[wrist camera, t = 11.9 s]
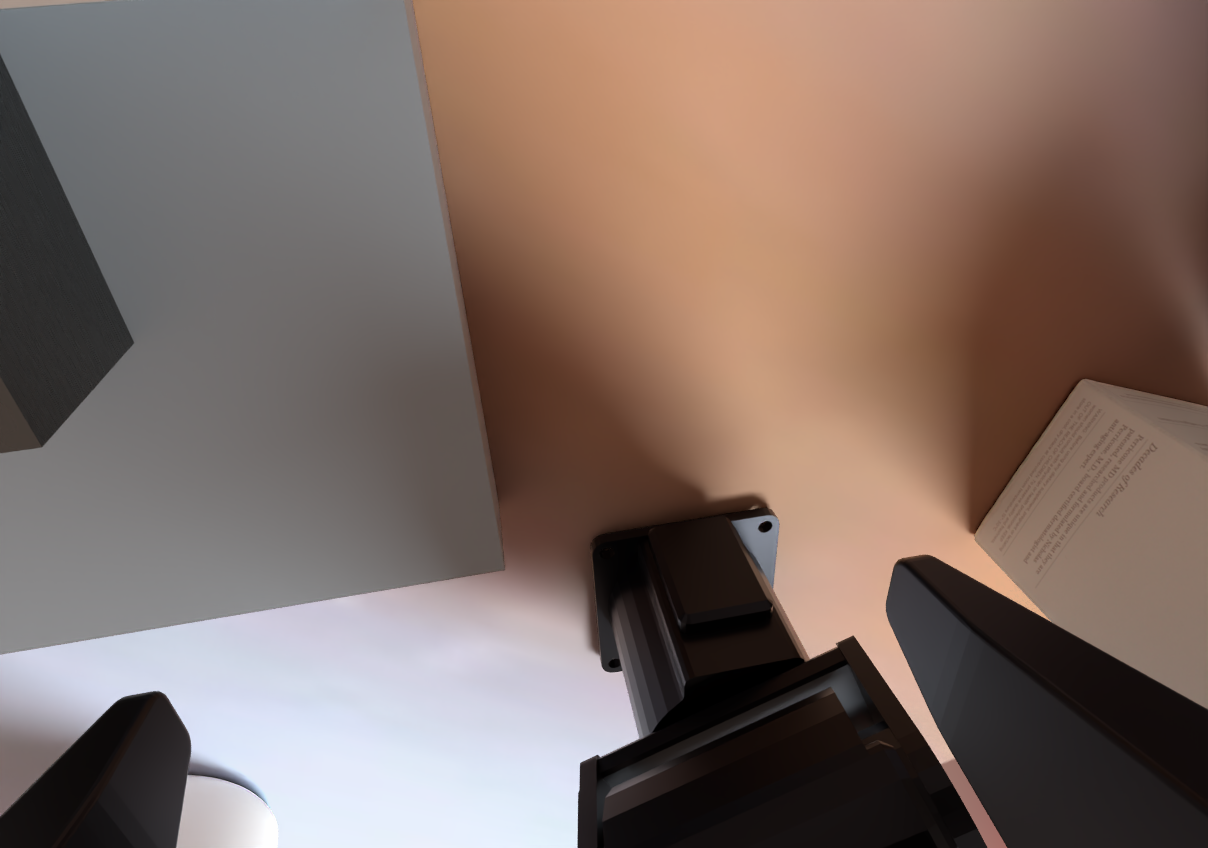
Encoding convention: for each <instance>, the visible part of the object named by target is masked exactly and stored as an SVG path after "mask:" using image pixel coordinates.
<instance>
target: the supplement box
mask: <svg viewBox="0 0 1208 848" xmlns="http://www.w3.org/2000/svg"><path fill="white" fill-rule="evenodd" d="M975 541H976V542H977V543H978V545H979V546H980V547H981V548H982V549H983V550H984V551H985V552H986V553H987V554H988V555H989V556H990V557H991V558H992V559H993V560H994V562H995V563H996V564H997V565H998V566H999V567H1000V568H1001V569H1002V570H1003V571H1004V572H1005V573H1006V574H1007V576H1008V577H1009V578H1010V579H1011V580H1012V581H1013V582H1014V583H1015V584H1016V585H1017V586H1018V587H1019V588H1020V589H1021V590H1022V591H1023V592H1024V593H1025V594H1026V596H1027V597H1028V598H1029V599H1030V600H1031V601H1032V602H1033V603H1034V604H1035V605H1036V606H1037V607H1038V608H1039V609H1040V610H1041V611H1042V612H1043V613H1044V614H1045V615H1046V616H1047V618H1048V619H1049V620H1050V621H1051V622H1052V623H1054V624H1056V625H1057V626H1059V627H1061V628H1063V629H1065V630H1066V631H1068V632H1070V633H1072V634H1074V635H1075V636H1077V637H1079V638H1081V639H1083V640H1084V641H1086V642H1088V643H1090V644H1092V645H1093V646H1095V647H1097V648H1099V649H1101V650H1102V651H1104V652H1106V653H1108V654H1110V655H1111V656H1113V657H1115V658H1117V659H1119V660H1120V661H1122V662H1124V663H1126V664H1128V665H1129V666H1131V667H1133V668H1135V669H1137V670H1138V671H1140V672H1142V673H1144V674H1146V675H1147V676H1149V677H1151V678H1153V679H1154V680H1156V681H1158V682H1160V683H1162V684H1163V685H1165V686H1167V687H1169V688H1171V689H1172V690H1174V691H1176V692H1178V693H1180V694H1181V695H1183V696H1185V697H1187V698H1189V699H1190V700H1192V701H1194V702H1196V703H1198V704H1199V705H1201V706H1203V707H1205V708H1207V709H1208V407H1207V406H1203V405H1199V404H1195V403H1190V402H1186V401H1182V400H1177V399H1173V398H1168V397H1164V396H1159V395H1155V394H1150V393H1146V392H1142V391H1137V390H1133V389H1128V388H1124V387H1119V386H1115V385H1110V384H1105V383H1101V382H1096V381H1092V380H1089V379H1083V380H1081V381H1080V382H1079V383H1078V384H1077V386H1076V387H1075V389H1074V390H1073V391H1072V392H1071V394H1070V395H1069V397H1068V398H1067V400H1066V401H1065V403H1064V404H1063V405H1062V407H1061V408H1060V410H1059V411H1058V412H1057V414H1056V415H1055V417H1054V418H1053V420H1052V421H1051V423H1050V424H1049V426H1048V427H1047V429H1046V430H1045V431H1044V433H1043V434H1042V436H1041V437H1040V438H1039V440H1038V441H1037V443H1036V444H1035V445H1034V447H1033V448H1032V450H1031V451H1030V453H1029V455H1028V456H1027V458H1026V459H1025V460H1024V462H1023V463H1022V464H1021V466H1020V467H1019V468H1018V470H1017V471H1016V473H1015V474H1014V476H1013V477H1012V479H1011V480H1010V482H1009V483H1008V485H1007V486H1006V488H1005V489H1004V491H1003V492H1002V494H1001V495H1000V496H999V498H998V500H997V501H996V503H995V504H994V506H993V507H992V508H991V510H990V511H989V512H988V514H987V515H986V517H985V518H984V520H983V521H982V523H981V525H980V527H979V528H978V530H977V531H976V533H975Z"/></svg>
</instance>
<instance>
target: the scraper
mask: <svg viewBox="0 0 1208 848" xmlns="http://www.w3.org/2000/svg"><path fill="white" fill-rule="evenodd" d="M120 1H133V0H0V10H13V9H27V8H40V7H53V6H67V5H80V4H93V3H106V2H120ZM133 344H134V341H133V339H132V337H131V335H130V332H129V330H128V328H127V326H126V324H125V322H124V319H123V317H122V315H121V313H120V311H119V309H118V306H117V304H116V302H115V300H114V298H113V296H112V294H111V291H110V289H109V287H108V285H107V283H106V281H105V278H104V276H103V274H102V272H101V270H100V268H99V266H98V263H97V261H96V259H95V257H94V255H93V253H92V250H91V248H90V246H89V244H88V242H87V240H86V237H85V235H84V233H83V231H82V229H81V227H80V225H79V222H78V220H77V218H76V216H75V214H74V212H73V209H72V207H71V205H70V203H69V201H68V199H67V197H66V194H65V192H64V190H63V188H62V186H61V184H60V181H59V179H58V177H57V175H56V173H55V171H54V168H53V166H52V164H51V162H50V160H49V158H48V156H47V153H46V151H45V149H44V147H43V145H42V143H41V140H40V138H39V136H38V134H37V132H36V130H35V128H34V125H33V123H32V121H31V119H30V117H29V115H28V112H27V110H26V108H25V106H24V104H23V102H22V100H21V97H20V95H19V93H18V91H17V89H16V87H15V84H14V82H13V80H12V78H11V76H10V74H9V71H8V69H7V67H6V65H5V63H4V61H3V59H2V56H1V54H0V453H7V452H14V451H21V450H28V449H35V448H42V447H43V446H44V445H45V444H46V442H47V441H48V440H49V439H50V438H51V437H52V436H53V435H54V433H55V432H56V431H57V430H58V429H59V428H60V427H61V425H62V424H63V423H64V422H65V421H66V420H67V419H68V418H69V416H70V415H71V414H72V413H73V412H74V411H75V410H76V409H77V407H78V406H79V405H80V404H81V403H82V402H83V401H84V399H85V398H86V397H87V396H88V395H89V394H90V393H91V392H92V390H93V389H94V388H95V387H96V386H97V385H98V384H99V382H100V381H101V380H102V379H103V378H104V377H105V376H106V375H107V373H108V372H109V371H110V370H111V369H112V368H113V367H114V366H115V364H116V363H117V362H118V361H119V360H120V359H121V358H122V356H123V355H124V354H125V353H126V352H127V351H128V350H129V349H130V347H131V346H132V345H133Z"/></svg>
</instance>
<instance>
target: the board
mask: <svg viewBox="0 0 1208 848" xmlns="http://www.w3.org/2000/svg"><path fill="white" fill-rule="evenodd" d="M0 54H1V56H2V59H3V61H4V63H5V65H6V67H7V69H8V71H9V74H10V76H11V78H12V80H13V82H14V84H15V87H16V89H17V91H18V93H19V95H20V97H21V100H22V102H23V104H24V106H25V108H26V110H27V112H28V115H29V117H30V119H31V121H32V123H33V125H34V128H35V130H36V132H37V134H38V136H39V138H40V140H41V143H42V145H43V147H44V149H45V151H46V153H47V156H48V158H49V160H50V162H51V164H52V166H53V168H54V171H55V173H56V175H57V177H58V179H59V181H60V184H61V186H62V188H63V190H64V192H65V194H66V197H67V199H68V201H69V203H70V205H71V207H72V209H73V212H74V214H75V216H76V218H77V220H78V222H79V225H80V227H81V229H82V231H83V233H84V235H85V237H86V240H87V242H88V244H89V246H90V248H91V250H92V253H93V255H94V257H95V259H96V261H97V263H98V266H99V268H100V270H101V272H102V274H103V276H104V278H105V281H106V283H107V285H108V287H109V289H110V291H111V294H112V296H113V298H114V300H115V302H116V304H117V306H118V309H119V311H120V313H121V315H122V317H123V319H124V322H125V324H126V326H127V328H128V330H129V332H130V335H131V337H132V339H133V341H134V344H133V345H132V346H131V347H130V349H129V350H128V351H127V352H126V353H125V354H124V355H123V356H122V358H121V359H120V360H119V361H118V362H117V363H116V364H115V366H114V367H113V368H112V369H111V370H110V371H109V372H108V373H107V375H106V376H105V377H104V378H103V379H102V380H101V381H100V382H99V384H98V385H97V386H96V387H95V388H94V389H93V390H92V392H91V393H90V394H89V395H88V396H87V397H86V398H85V399H84V401H83V402H82V403H81V404H80V405H79V406H78V407H77V409H76V410H75V411H74V412H73V413H72V414H71V415H70V416H69V418H68V419H67V420H66V421H65V422H64V423H63V424H62V425H61V427H60V428H59V429H58V430H57V431H56V432H55V433H54V435H53V436H52V437H51V438H50V439H49V440H48V441H47V442H46V444H45V445H44V446H43V447H42V448H35V449H28V450H21V451H14V452H7V453H0V655H1V654H7V653H13V652H19V651H25V650H31V649H37V648H43V647H49V646H55V645H61V644H67V643H73V642H78V641H84V640H90V639H96V638H102V637H108V636H114V635H120V634H126V633H132V632H138V631H144V630H150V629H156V628H162V627H168V626H174V625H180V624H186V623H192V622H198V621H204V620H210V619H216V618H222V617H228V616H234V615H240V614H246V613H251V612H257V611H263V610H269V609H275V608H281V607H287V606H293V605H299V604H305V603H311V602H317V601H323V600H329V599H335V598H341V597H347V596H353V595H359V594H365V593H371V592H377V591H383V590H389V589H395V588H401V587H407V586H413V585H419V584H425V583H430V582H436V581H442V580H448V579H454V578H460V577H466V576H472V575H478V574H484V573H490V572H496V571H502V570H505V565H504V554H503V543H502V532H501V521H500V510H499V502H498V496H497V490H496V484H495V478H494V473H493V467H492V461H491V455H490V449H489V444H488V438H487V432H486V426H485V420H484V415H483V409H482V403H481V397H480V391H479V385H478V380H477V374H476V368H475V362H474V356H473V351H472V345H471V339H470V333H469V327H468V322H467V316H466V310H465V304H464V298H463V292H462V287H461V281H460V275H459V269H458V263H457V258H456V252H455V246H454V240H453V234H452V229H451V223H450V217H449V211H448V205H447V199H446V194H445V188H444V182H443V176H442V170H441V165H440V159H439V153H438V147H437V141H436V136H435V130H434V124H433V118H432V112H431V106H430V101H429V95H428V89H427V83H426V77H425V72H424V66H423V60H422V54H421V48H420V43H419V37H418V31H417V25H416V19H415V13H414V8H413V2H412V0H133V1H120V2H106V3H93V4H80V5H67V6H53V7H40V8H27V9H13V10H0Z"/></svg>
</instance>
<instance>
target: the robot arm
mask: <svg viewBox="0 0 1208 848" xmlns="http://www.w3.org/2000/svg"><path fill="white" fill-rule="evenodd" d="M765 521H767V522H766V523H765V524H763V525H760V524H761V523H762V522H765ZM778 533H779V520H778V518H777V517H776V515H775V513H774V512H773V511H772V510H771V509H768V508H760V509H754V510H748V511H742V512H736V513H730V514H724V515H717V516H711V517H705V518H699V519H693V520H687V521H681V522H675V523H669V524H663V525H657V526H651V527H644V528H638V529H632V530H626V531H620V532H614V533H608V534H603V535H600V536H598V537H596V538H595V539H594V540H593V541H592V543H591V547H590V550H591V561H592V573H593V584H594V595H595V607H596V618H597V630H598V641H599V652H600V660H601V664H602V668H603V669H604V670H605V671H607V672H619V671H623V674H624V678H625V682H626V686H627V690H628V694H629V698H630V702H631V706H632V710H633V714H634V718H635V722H636V726H637V730H638V734H639V738H640V739H638V740H636V741H634V742H632V743H630V744H628V745H625V746H623V747H621V748H619V749H617V750H615V751H613V752H610V753H608V754H606V755H604V756H602V757H599V756H598V755H596V756H594V757H592V758H590V759H588V760H586V761H583V762H581V763H580V790H579V793H578V848H987V846H986V844H985V842H984V840H983V838H982V837H981V835H980V833H979V831H978V829H977V827H976V825H975V823H974V821H973V820H972V818H971V816H970V814H969V812H968V811H967V809H966V807H965V805H964V803H963V802H962V800H961V798H960V796H959V795H958V793H957V791H956V789H955V788H954V786H953V784H952V783H951V781H950V779H949V778H948V776H947V774H946V773H945V771H944V769H943V768H942V766H941V764H940V763H939V761H938V759H937V758H936V756H935V755H934V753H933V751H932V750H931V748H930V747H929V745H928V743H927V742H926V740H925V739H924V737H923V736H922V734H921V733H920V731H919V730H918V728H917V727H916V725H915V724H914V723H913V721H912V720H911V718H910V717H909V715H908V714H907V712H906V711H905V709H904V708H903V707H902V705H901V704H900V702H899V701H898V699H897V698H896V696H895V695H894V694H893V692H892V691H891V689H890V688H889V686H888V685H887V683H886V682H885V680H884V679H883V678H882V676H881V675H880V673H879V672H878V670H877V669H876V667H875V666H874V664H873V663H872V662H871V660H870V659H869V657H868V656H867V654H866V653H865V651H864V650H863V648H862V647H861V646H860V644H859V643H858V641H857V640H856V638H855V637H854V636H851V637H849V638H847V639H845V640H843V641H840V642H838V643H836V645H837V647H836V648H833V649H831V650H829V651H827V652H825V653H823V654H821V655H818V656H816V657H814V658H812V659H810V658H809V657H808V655H807V653H806V651H805V649H804V647H803V645H802V643H801V642H800V640H799V638H798V636H797V634H796V632H795V630H794V628H793V626H792V625H791V623H790V621H789V619H788V617H787V615H786V613H785V611H784V609H783V608H782V606H781V604H780V602H779V600H778V598H777V596H776V594H775V592H774V591H773V583H774V573H775V563H776V553H777V543H778ZM604 548H610V549H609V550H607V551H601V550H602V549H604ZM886 612H887V617H888V620H889V623H890V625H891V627H892V629H893V631H894V634H895V636H896V638H897V640H898V642H899V645H900V647H901V649H902V651H903V653H904V656H905V658H906V660H907V662H908V664H909V667H910V669H911V671H912V673H913V675H914V678H915V680H916V682H917V684H918V686H919V688H920V691H921V693H922V695H923V697H924V699H925V702H926V704H927V706H928V708H929V710H930V713H931V715H932V717H933V719H934V721H935V723H936V725H937V727H938V729H939V731H940V732H941V734H942V736H943V738H944V740H945V741H946V743H947V745H948V747H949V749H950V750H951V752H952V754H953V755H954V757H955V759H956V760H957V762H958V764H959V765H960V767H961V769H962V771H963V772H964V774H965V776H966V778H967V779H968V781H969V783H970V784H971V786H972V788H973V790H974V791H975V793H976V795H977V796H978V798H979V800H980V801H981V803H982V805H983V807H984V808H985V810H986V812H987V814H988V815H989V817H990V819H991V820H992V822H993V823H994V826H995V827H996V829H997V831H998V832H999V834H1000V836H1001V837H1002V839H1003V841H1004V843H1005V844H1006V846H1007V848H1208V709H1207V708H1205V707H1203V706H1201V705H1199V704H1198V703H1196V702H1194V701H1192V700H1190V699H1189V698H1187V697H1185V696H1183V695H1181V694H1180V693H1178V692H1176V691H1174V690H1172V689H1171V688H1169V687H1167V686H1165V685H1163V684H1162V683H1160V682H1158V681H1156V680H1154V679H1153V678H1151V677H1149V676H1147V675H1146V674H1144V673H1142V672H1140V671H1138V670H1137V669H1135V668H1133V667H1131V666H1129V665H1128V664H1126V663H1124V662H1122V661H1120V660H1119V659H1117V658H1115V657H1113V656H1111V655H1110V654H1108V653H1106V652H1104V651H1102V650H1101V649H1099V648H1097V647H1095V646H1093V645H1092V644H1090V643H1088V642H1086V641H1084V640H1083V639H1081V638H1079V637H1077V636H1075V635H1074V634H1072V633H1070V632H1068V631H1066V630H1065V629H1063V628H1061V627H1059V626H1057V625H1056V624H1054V623H1052V622H1050V621H1048V620H1047V619H1045V618H1043V617H1041V616H1039V615H1038V614H1036V613H1034V612H1032V611H1030V610H1029V609H1027V608H1025V607H1023V606H1021V605H1020V604H1018V603H1016V602H1014V601H1012V600H1011V599H1009V598H1007V597H1005V596H1003V595H1002V594H1000V593H998V592H996V591H994V590H993V589H991V588H989V587H987V586H985V585H984V584H982V583H980V582H978V581H977V580H975V579H973V578H971V577H969V576H968V575H966V574H964V573H962V572H960V571H959V570H957V569H955V568H953V567H951V566H950V565H948V564H946V563H944V562H942V561H941V560H939V559H937V558H935V557H933V556H930V555H918V556H913V557H907V558H902V559H899V560H898V561H897V562H896V564H895V565H894V569H893V573H892V578H891V582H890V587H889V591H888V596H887V600H886ZM190 757H191V740H190V736H189V733H188V731H187V729H186V727H185V726H184V724H183V722H182V721H181V719H180V717H179V716H178V714H177V712H176V711H175V709H174V707H173V706H172V704H171V702H170V701H169V699H168V698H167V696H166V695H165V694H163V693H161V692H159V691H153V692H147V693H142V694H136V695H131V696H126V697H123V698H121V699H120V700H118V701H117V702H115V703H114V704H113V705H112V706H111V707H110V708H109V709H108V710H107V711H106V712H105V713H104V714H103V715H102V716H101V717H100V718H99V719H98V720H97V721H96V722H95V723H94V724H93V725H92V726H91V727H90V728H89V729H88V730H87V731H86V732H85V733H84V734H83V735H82V736H81V737H80V738H79V739H78V740H77V741H76V742H75V743H74V744H73V745H72V746H71V747H70V748H69V749H68V750H67V751H66V752H65V753H64V754H63V755H62V756H61V757H60V758H59V759H58V760H57V761H56V762H55V763H54V764H53V765H52V766H51V767H50V768H49V769H48V770H47V771H46V772H45V773H44V774H43V775H42V776H41V777H40V778H39V779H37V780H36V781H35V782H34V783H33V784H32V785H31V786H30V787H29V788H28V789H27V790H26V791H25V792H24V793H23V794H22V795H21V796H20V797H19V798H18V799H17V800H16V801H15V802H14V803H13V804H12V805H11V806H10V807H9V808H8V809H7V810H6V811H5V812H4V813H3V814H2V815H1V816H0V848H176V847H177V841H178V834H179V828H180V821H181V815H182V808H183V802H184V795H185V789H186V783H187V776H188V770H189V763H190Z"/></svg>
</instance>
